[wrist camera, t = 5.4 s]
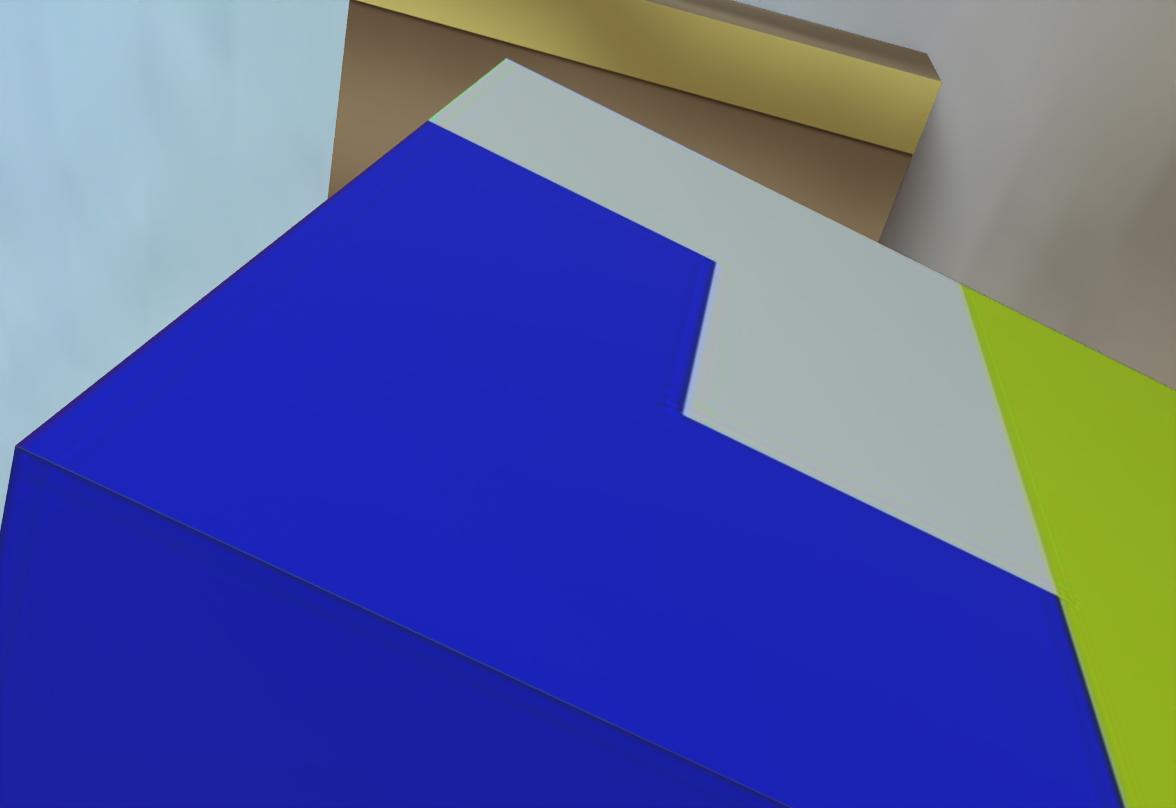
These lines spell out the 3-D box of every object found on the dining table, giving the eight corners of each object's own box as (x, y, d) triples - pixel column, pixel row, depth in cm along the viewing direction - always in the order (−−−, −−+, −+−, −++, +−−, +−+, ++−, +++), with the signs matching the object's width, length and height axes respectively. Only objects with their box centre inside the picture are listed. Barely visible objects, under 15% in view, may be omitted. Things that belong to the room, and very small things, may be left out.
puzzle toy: (507, 57, 14) (15, 446, 5) (1180, 392, 15) (1716, 1240, 6) (302, 585, 19) (-122, 1223, 10) (807, 821, 20) (803, 1618, 11)
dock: (401, -90, 26) (313, -67, 21) (927, 53, 26) (957, 110, 21) (335, 424, 34) (260, 527, 29) (740, 542, 33) (730, 665, 28)
